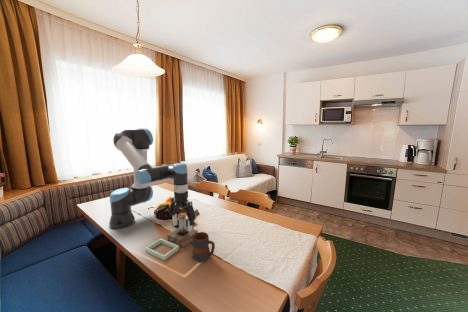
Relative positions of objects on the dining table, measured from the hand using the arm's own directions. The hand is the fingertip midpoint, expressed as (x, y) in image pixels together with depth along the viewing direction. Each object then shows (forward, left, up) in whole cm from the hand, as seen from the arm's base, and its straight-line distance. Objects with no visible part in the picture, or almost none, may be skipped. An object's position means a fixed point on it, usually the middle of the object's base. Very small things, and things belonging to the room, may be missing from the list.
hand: (182, 227), depth 111 cm
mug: (+20, -6, -8) cm, 22 cm away
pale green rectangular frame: (-2, -13, -8) cm, 15 cm away
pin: (0, 0, -7) cm, 7 cm away
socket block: (0, 0, -8) cm, 8 cm away
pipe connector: (-9, +13, -9) cm, 18 cm away
